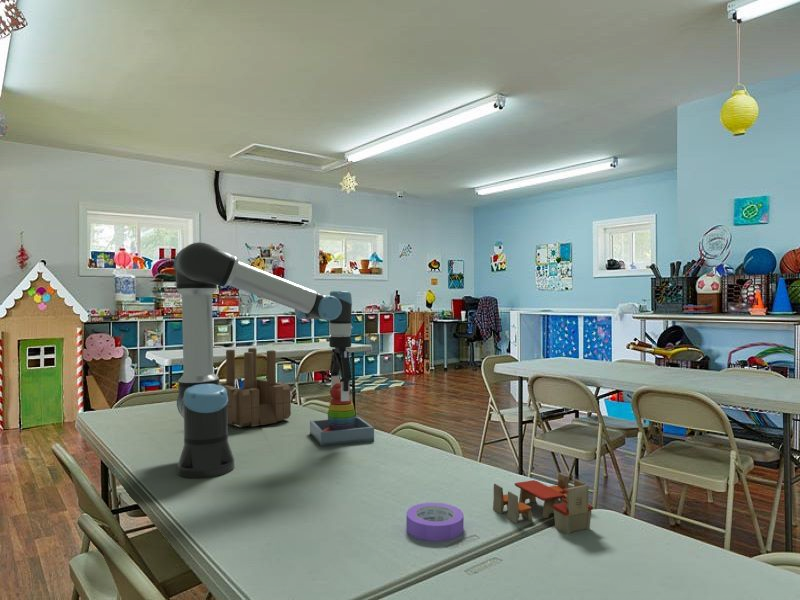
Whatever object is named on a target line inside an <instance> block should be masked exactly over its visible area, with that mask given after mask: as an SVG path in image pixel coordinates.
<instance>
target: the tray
mask: <svg viewBox="0 0 800 600" xmlns="http://www.w3.org/2000/svg"><path fill="white" fill-rule="evenodd" d="M327 428H330V427H329V422H328V418H327V419H316V420H309V434H310V435H311V436H312V437H313V439H314V440H315V441H316V443H317V444H318V445H319V446H320V447H328V446H337V445H338V446H339V445H348V444H356V443H365V442H375V427H374V425H373V426H372V424H371V423H368V422H367V421H366V420H364V419H363V418H361V417H360V416H355V421H354V425H353V428H354V429H345V430H334V431H324V432H323V430H324V429H327Z"/></svg>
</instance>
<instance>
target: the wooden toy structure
mask: <svg viewBox="0 0 800 600" xmlns="http://www.w3.org/2000/svg"><path fill="white" fill-rule="evenodd" d="M225 351H226V352H225V369H226V370H225V373H226V374H225V375H226V377H225V378H226V381H219V385H221V386H223V387H224V388H226V390H227V396H228V425H231V426H234V425H237V426H239V427H241V428H242V427H248V426H251V427H254V426H264V425H270V424H276V423H278V422H280V421H283V420H287V419H289V418H290V416H291V414H292V411H291V407H292V406H291V405H292V404H291V402H292V401H291V399H292V398H291V388H290V385H289V384H287V383H284V382H281V381H277V378H276V377H277V375H276V374H277V372H276V371H277V367H276V366H277V364H276V362H277V361H276V360H277V357H276V355H277V354H276V350H273V349H272V350H266V379H263V378H258V376H257V375H258V374H257V373H258V371H257V370H258V368H257V363H258V362H257V359H258V357H257V355H258V354H257V348H255V347H249V348H247V351H246V352H244V353H243V359H244V360H243V361H244V362H243V366H244V367H243V369H244V370H243V371H244V373H243V374H244V376H243V377H244V379H243V380H242V388H239V387H236V356H235V355H236V352H235V351H236V350H235V349H226V350H225Z"/></svg>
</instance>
